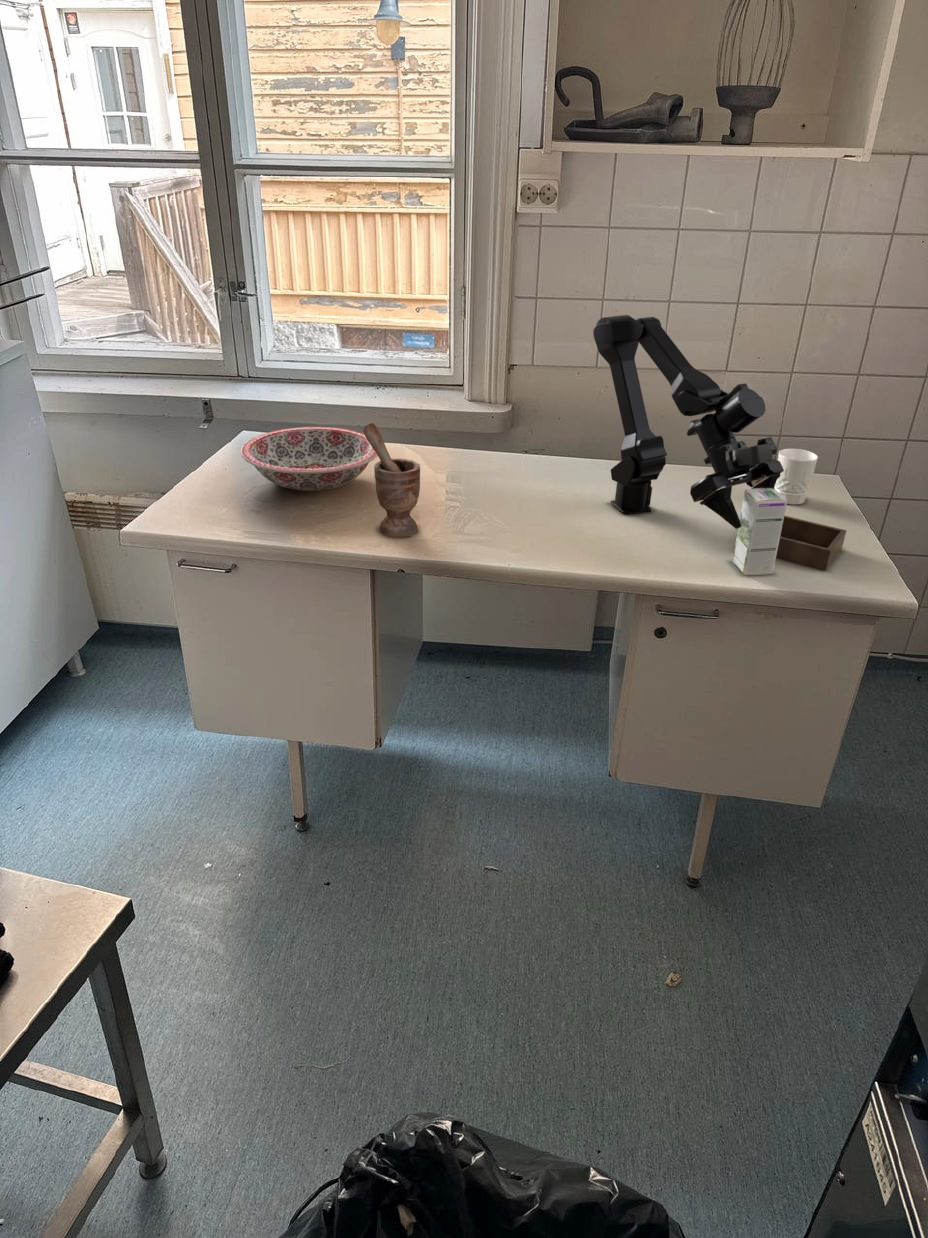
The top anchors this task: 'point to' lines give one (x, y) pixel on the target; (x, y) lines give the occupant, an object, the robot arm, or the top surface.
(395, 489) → the mortar and pestle
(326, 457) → the ceramic bowl
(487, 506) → the top surface
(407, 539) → the top surface
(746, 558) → the syrup box
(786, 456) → the white cup
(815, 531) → the crate
